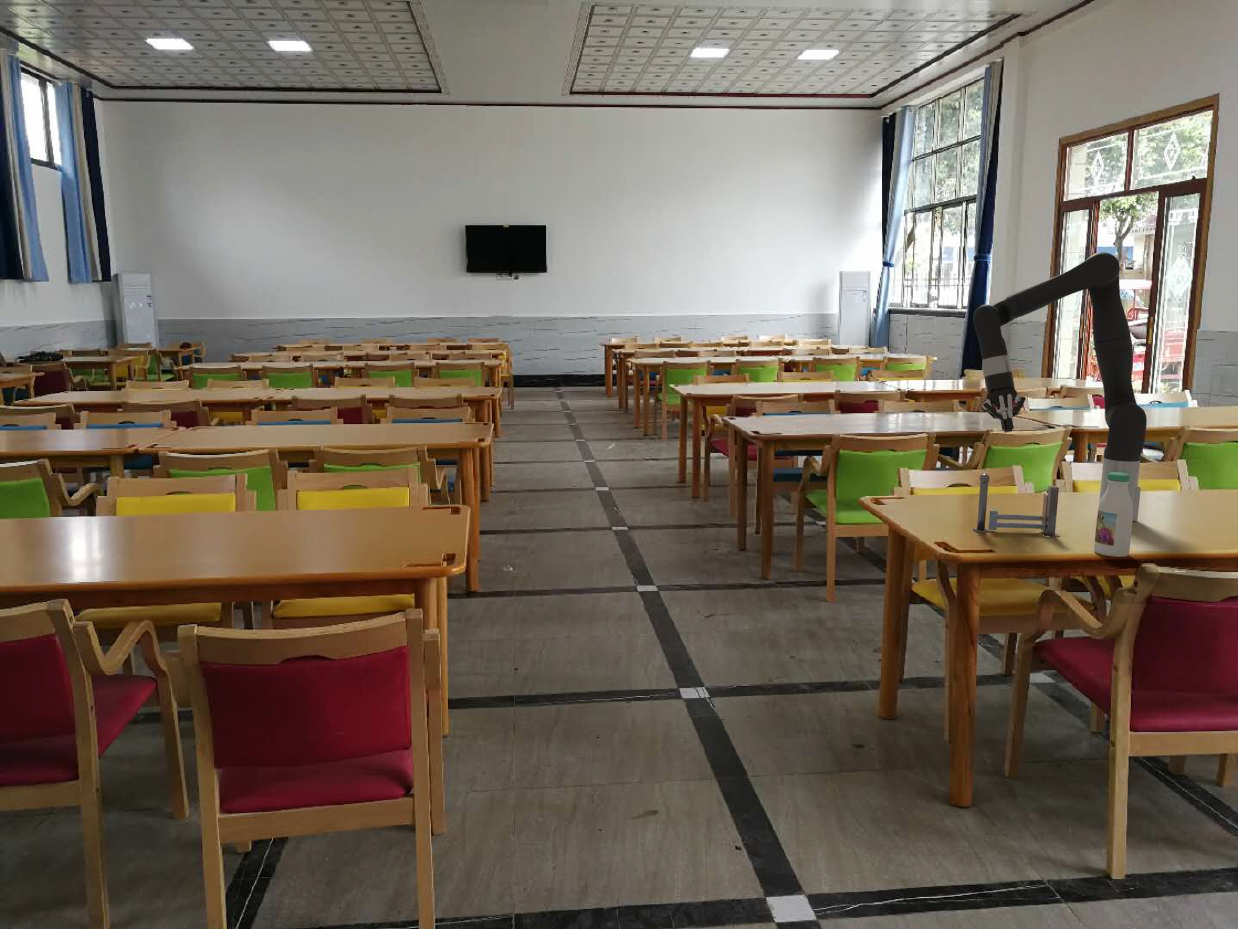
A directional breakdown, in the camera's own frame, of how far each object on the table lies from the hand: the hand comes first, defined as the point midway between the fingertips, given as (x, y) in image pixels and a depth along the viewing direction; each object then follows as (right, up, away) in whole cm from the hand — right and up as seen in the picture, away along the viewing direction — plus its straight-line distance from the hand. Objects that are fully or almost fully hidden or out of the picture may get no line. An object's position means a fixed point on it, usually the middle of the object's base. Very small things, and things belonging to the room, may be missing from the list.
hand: (1008, 431), depth 274 cm
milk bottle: (+8, -31, -41) cm, 53 cm away
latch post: (+1, -28, -24) cm, 37 cm away
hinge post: (-15, -27, -19) cm, 37 cm away
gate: (-5, -27, -21) cm, 34 cm away
